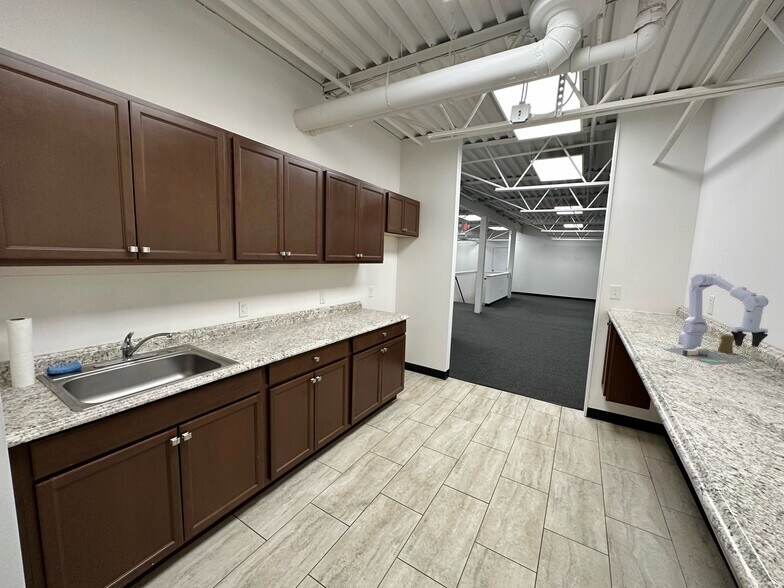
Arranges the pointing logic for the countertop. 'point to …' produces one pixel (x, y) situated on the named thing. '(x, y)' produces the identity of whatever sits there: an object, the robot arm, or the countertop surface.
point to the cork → (726, 344)
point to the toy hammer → (696, 351)
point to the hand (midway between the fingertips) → (746, 346)
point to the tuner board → (707, 357)
